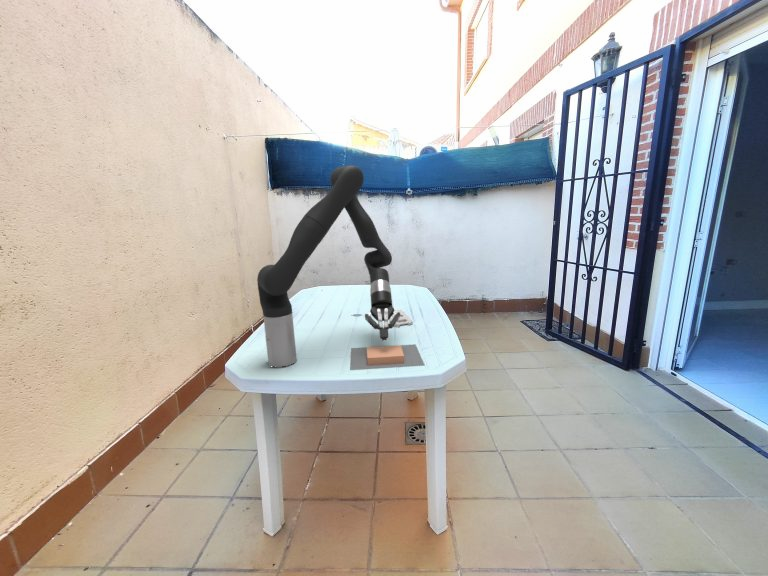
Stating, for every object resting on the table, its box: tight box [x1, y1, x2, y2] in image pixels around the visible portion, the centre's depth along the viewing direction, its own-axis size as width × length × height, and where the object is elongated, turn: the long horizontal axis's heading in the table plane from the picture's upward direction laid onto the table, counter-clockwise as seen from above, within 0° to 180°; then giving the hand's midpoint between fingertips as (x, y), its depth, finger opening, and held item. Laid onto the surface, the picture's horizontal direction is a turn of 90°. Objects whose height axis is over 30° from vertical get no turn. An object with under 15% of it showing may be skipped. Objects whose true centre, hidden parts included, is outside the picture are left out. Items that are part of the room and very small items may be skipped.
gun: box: [388, 309, 414, 328], centre depth 156 cm, size 18×3×10 cm
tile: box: [367, 344, 404, 365], centre depth 116 cm, size 12×2×9 cm
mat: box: [349, 344, 425, 371], centre depth 118 cm, size 24×18×1 cm
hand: (384, 339), depth 114 cm, fingers closed
